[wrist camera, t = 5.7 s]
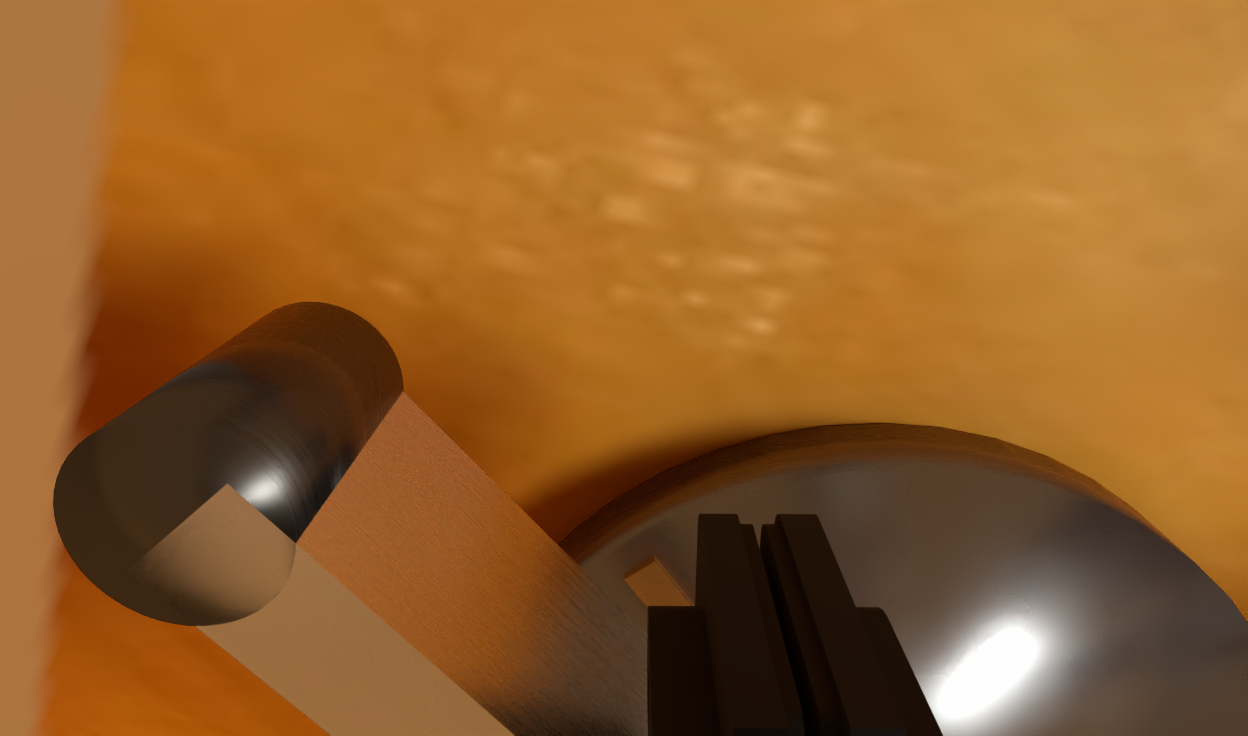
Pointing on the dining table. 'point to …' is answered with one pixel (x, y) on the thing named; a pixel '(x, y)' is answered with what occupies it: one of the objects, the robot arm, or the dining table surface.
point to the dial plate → (963, 576)
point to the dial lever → (345, 546)
